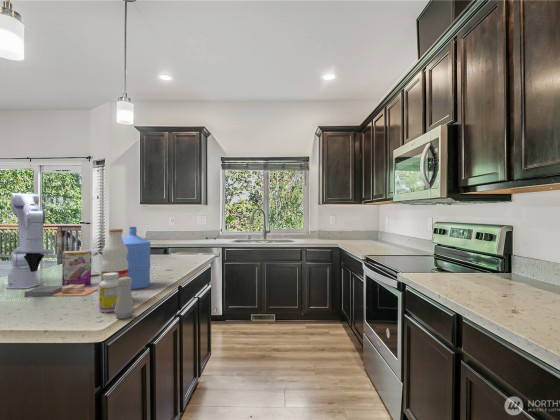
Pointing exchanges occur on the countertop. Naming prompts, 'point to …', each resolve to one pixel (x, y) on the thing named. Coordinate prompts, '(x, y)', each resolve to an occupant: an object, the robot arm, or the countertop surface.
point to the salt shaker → (124, 299)
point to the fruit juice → (115, 255)
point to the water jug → (138, 259)
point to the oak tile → (73, 289)
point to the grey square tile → (44, 291)
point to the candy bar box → (76, 268)
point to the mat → (83, 293)
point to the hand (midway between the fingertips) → (33, 271)
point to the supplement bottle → (108, 292)
